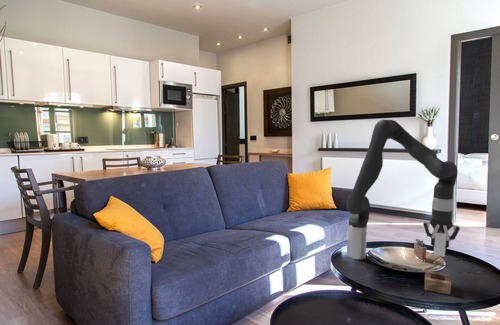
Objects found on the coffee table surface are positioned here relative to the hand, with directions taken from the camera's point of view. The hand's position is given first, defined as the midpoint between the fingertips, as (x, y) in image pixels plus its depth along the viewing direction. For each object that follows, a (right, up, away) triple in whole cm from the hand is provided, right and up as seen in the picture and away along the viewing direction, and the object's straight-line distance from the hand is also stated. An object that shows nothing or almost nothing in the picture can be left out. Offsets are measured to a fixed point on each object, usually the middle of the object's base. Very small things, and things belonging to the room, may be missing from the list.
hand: (439, 247), depth 140 cm
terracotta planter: (+8, -15, +32) cm, 36 cm away
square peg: (0, -3, 0) cm, 3 cm away
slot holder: (0, -18, +2) cm, 19 cm away
